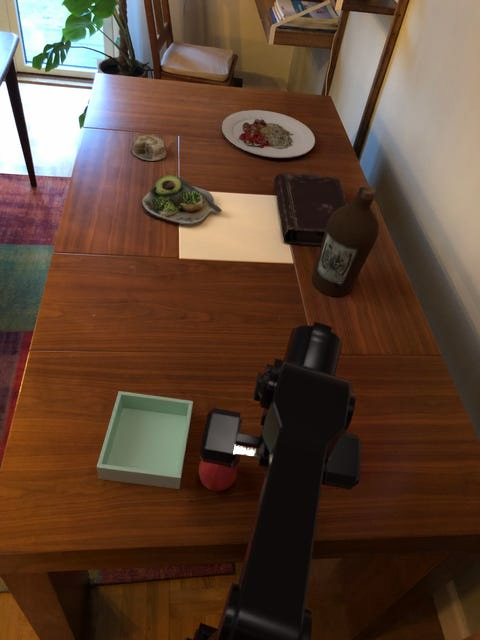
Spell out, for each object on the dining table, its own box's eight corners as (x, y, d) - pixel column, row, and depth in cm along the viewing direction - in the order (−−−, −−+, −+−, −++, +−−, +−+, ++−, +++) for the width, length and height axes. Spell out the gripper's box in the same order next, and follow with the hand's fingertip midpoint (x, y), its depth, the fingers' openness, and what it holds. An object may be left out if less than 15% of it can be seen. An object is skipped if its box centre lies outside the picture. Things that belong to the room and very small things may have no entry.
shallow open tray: (179, 491, 73) (180, 477, 69) (99, 481, 72) (96, 467, 68) (191, 416, 82) (193, 400, 78) (120, 406, 81) (118, 390, 77)
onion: (194, 466, 76) (197, 442, 70) (229, 460, 77) (235, 436, 71) (200, 502, 72) (205, 480, 66) (237, 495, 73) (244, 472, 68)
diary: (281, 243, 117) (285, 227, 113) (272, 187, 133) (276, 171, 130) (354, 250, 119) (360, 234, 115) (336, 193, 136) (342, 177, 132)
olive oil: (323, 261, 114) (355, 167, 96) (362, 282, 111) (403, 190, 93) (300, 283, 108) (330, 187, 90) (341, 306, 105) (381, 212, 86)
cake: (138, 142, 141) (138, 124, 137) (170, 150, 140) (172, 133, 137) (126, 156, 133) (126, 137, 130) (160, 164, 133) (161, 146, 129)
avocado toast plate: (232, 201, 126) (234, 185, 123) (205, 237, 114) (207, 222, 111) (166, 178, 129) (166, 163, 126) (133, 212, 117) (133, 196, 114)
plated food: (323, 132, 160) (326, 123, 158) (298, 173, 141) (301, 162, 138) (241, 107, 165) (242, 97, 162) (206, 143, 145) (207, 132, 143)
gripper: (379, 377, 54) (344, 418, 68) (218, 348, 55) (215, 394, 68) (376, 477, 49) (339, 499, 62) (197, 443, 49) (199, 473, 63)
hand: (272, 463), depth 64 cm, fingers open, 9 cm apart
